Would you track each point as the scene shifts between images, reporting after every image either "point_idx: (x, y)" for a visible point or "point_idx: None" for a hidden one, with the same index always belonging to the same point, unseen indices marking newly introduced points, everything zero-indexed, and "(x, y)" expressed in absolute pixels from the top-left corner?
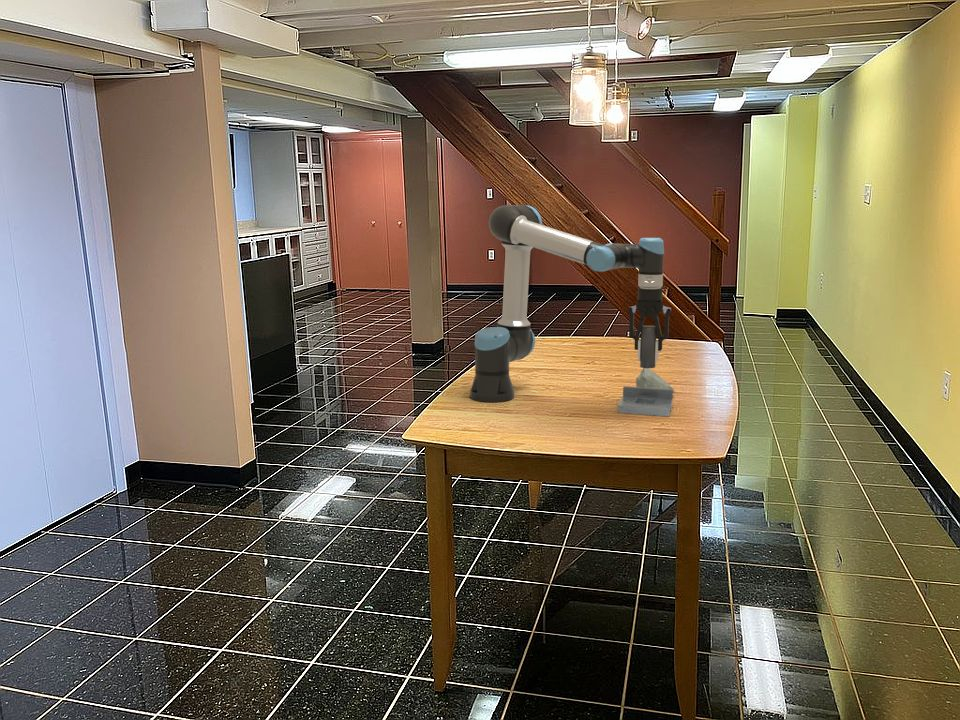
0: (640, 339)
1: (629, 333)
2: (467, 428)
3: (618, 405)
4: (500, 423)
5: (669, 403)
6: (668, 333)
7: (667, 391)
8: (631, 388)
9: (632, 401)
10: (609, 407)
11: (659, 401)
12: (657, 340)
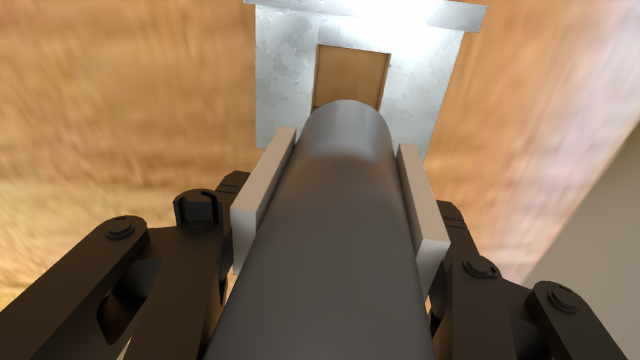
0: (246, 221)
1: (102, 315)
2: (11, 277)
3: (258, 147)
4: (41, 247)
5: (436, 100)
6: (609, 351)
7: (452, 29)
8: (282, 7)
9: (299, 91)
10: (227, 74)
11: (402, 75)
12: (428, 265)
